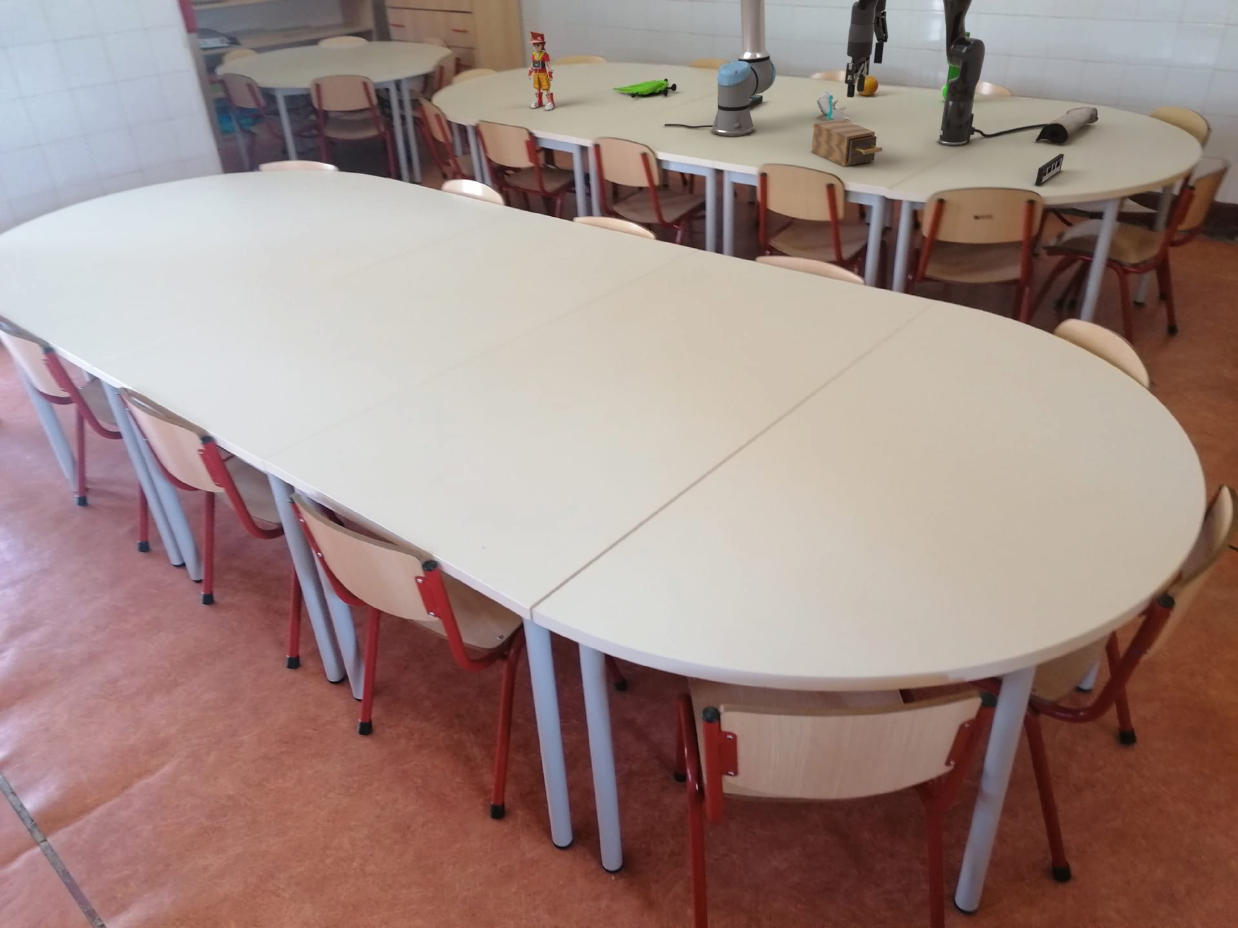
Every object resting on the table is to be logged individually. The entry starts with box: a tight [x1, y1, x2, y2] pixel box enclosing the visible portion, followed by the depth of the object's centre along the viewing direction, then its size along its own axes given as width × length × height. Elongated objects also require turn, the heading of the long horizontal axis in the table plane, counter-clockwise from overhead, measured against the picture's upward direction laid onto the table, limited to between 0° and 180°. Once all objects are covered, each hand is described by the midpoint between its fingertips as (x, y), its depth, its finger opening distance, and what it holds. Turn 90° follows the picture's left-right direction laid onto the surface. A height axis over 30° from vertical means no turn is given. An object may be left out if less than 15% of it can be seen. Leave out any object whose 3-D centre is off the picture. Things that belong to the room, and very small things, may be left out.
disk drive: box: [749, 94, 764, 110], centre depth 367 cm, size 10×3×15 cm
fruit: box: [855, 75, 879, 96], centre depth 370 cm, size 8×8×8 cm
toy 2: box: [612, 78, 677, 99], centre depth 396 cm, size 28×5×30 cm
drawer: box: [847, 135, 883, 166], centre depth 297 cm, size 24×9×8 cm, turn 22°
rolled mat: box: [1035, 106, 1099, 146], centre depth 310 cm, size 30×9×10 cm
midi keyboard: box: [1035, 153, 1065, 186], centre depth 273 cm, size 18×1×5 cm, turn 138°
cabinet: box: [811, 119, 876, 167], centre depth 301 cm, size 20×11×10 cm, turn 22°
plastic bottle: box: [942, 31, 971, 100], centre depth 348 cm, size 10×10×25 cm
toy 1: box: [527, 31, 556, 111], centre depth 374 cm, size 12×9×30 cm
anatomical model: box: [816, 91, 851, 121], centre depth 342 cm, size 15×10×10 cm
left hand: (867, 67), depth 306 cm, fingers open, 13 cm apart
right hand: (855, 94), depth 286 cm, fingers open, 8 cm apart
